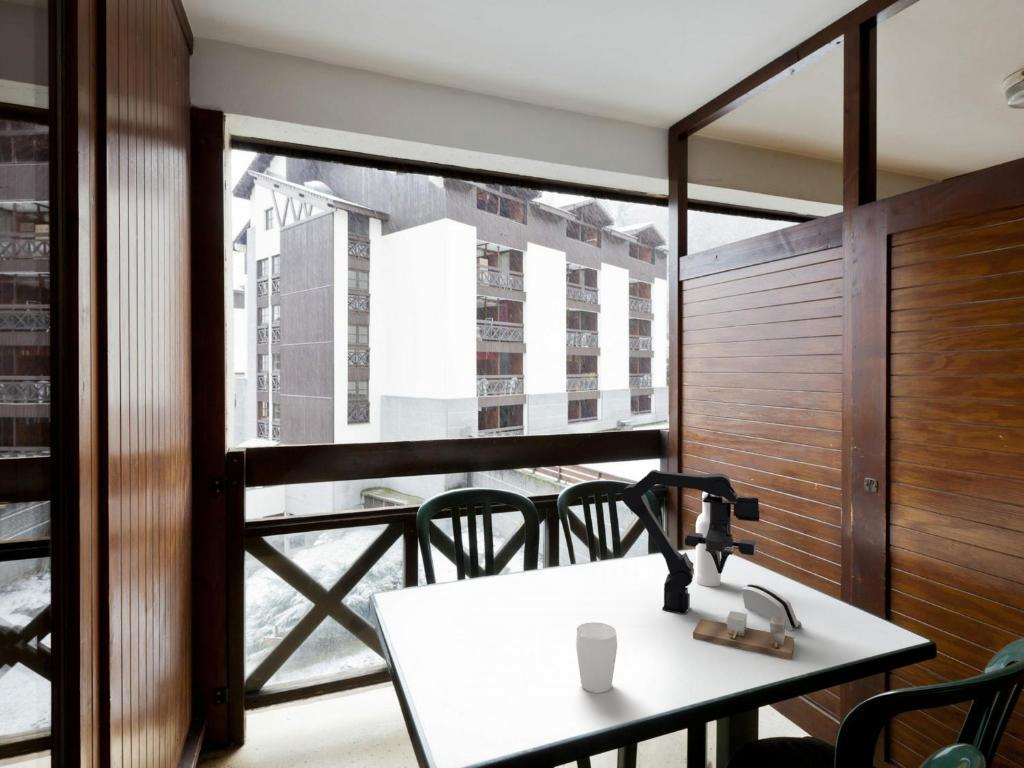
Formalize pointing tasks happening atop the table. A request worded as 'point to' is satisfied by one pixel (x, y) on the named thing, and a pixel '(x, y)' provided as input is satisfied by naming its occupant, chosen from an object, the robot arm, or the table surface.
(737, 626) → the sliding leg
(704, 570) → the bottle
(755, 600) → the light grey curved piece
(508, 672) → the table surface
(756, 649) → the hole board
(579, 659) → the cup
